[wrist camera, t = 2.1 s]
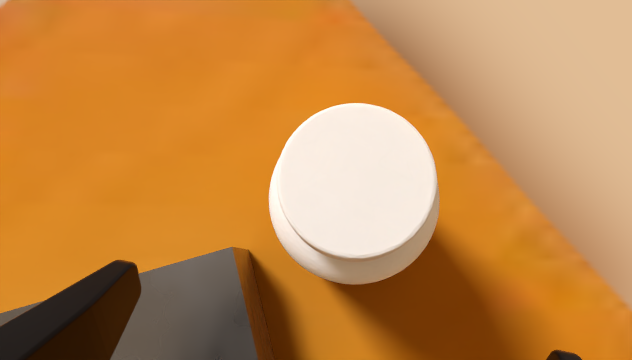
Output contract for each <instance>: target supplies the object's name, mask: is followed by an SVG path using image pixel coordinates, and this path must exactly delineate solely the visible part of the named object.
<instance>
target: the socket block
mask: <svg viewBox="0 0 632 360" xmlns="http://www.w3.org/2000/svg"><path fill="white" fill-rule="evenodd" d="M139 278H140V282H141V295H140V298H139V300H138V302H137V304H136V306H135V309H134V311H133V313H132V315H131V317H130V319H129V321H128V323H127V326H126V328H125V330H124V332H123V334H122V336H121V338H120V340H119V343H118V345H117V347H116V349H115V351H114V353H113V355H112V357H111V359H110V360H275V358H274V354H273V349H272V345H271V341H270V337H269V333H268V328H267V324H266V320H265V316H264V312H263V308H262V303H261V299H260V295H259V291H258V287H257V282H256V278H255V274H254V270H253V266H252V262H251V257H250V253H249V250H246V249H240V248H235V247H230V248H227V249H223V250H220V251H216V252H213V253H209V254H206V255H202V256H199V257H195V258H192V259H188V260H185V261H181V262H178V263H174V264H171V265H167V266H164V267H160V268H157V269H153V270H150V271H147V272H143V273H140V274H139ZM42 302H43V301H42ZM42 302H39V303H35V304H32V305H28V306H25V307H21V308H18V309H14V310H11V311H7V312H4V313H0V326H1V325H3V324H5V323H7V322H8V321H10V320H12V319H14V318H15V317H17V316H19V315H21V314H22V313H24V312H26V311H28V310H29V309H31V308H33V307H35V306H36V305H38V304H40V303H42Z"/></svg>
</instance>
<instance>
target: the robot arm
mask: <svg viewBox="0 0 632 360" xmlns="http://www.w3.org/2000/svg"><path fill="white" fill-rule="evenodd" d="M140 295H141V282H140V278H139V274H138V269H137V266H136V264H135V263H133V262H128V261H124V260H116V261H113V262H111V263H110V264H108V265H106V266H104V267H103V268H101V269H99V270H97V271H96V272H94V273H92V274H90V275H89V276H87V277H85V278H83V279H82V280H80V281H78V282H76V283H75V284H73V285H71V286H70V287H68V288H66V289H64V290H63V291H61V292H59V293H57V294H56V295H54V296H52V297H50V298H49V299H47V300H45V301H43V302H42V303H40V304H38V305H36V306H35V307H33V308H31V309H29V310H28V311H26V312H24V313H22V314H21V315H19V316H17V317H15V318H14V319H12V320H10V321H8V322H7V323H5V324H3V325H1V326H0V360H110V359H111V357H112V355H113V353H114V351H115V349H116V347H117V345H118V343H119V340H120V338H121V336H122V334H123V332H124V330H125V328H126V326H127V323H128V321H129V319H130V317H131V315H132V313H133V311H134V309H135V306H136V304H137V302H138V300H139V298H140ZM546 360H582V359H581V358H580V357H579V356H578V355H576V354H574V353H570V352H566V351H561V350H554V351H552V352H551V353H550V355H549V356H548V358H547V359H546Z"/></svg>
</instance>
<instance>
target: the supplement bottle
mask: <svg viewBox="0 0 632 360" xmlns="http://www.w3.org/2000/svg"><path fill="white" fill-rule="evenodd" d="M269 210H270V216H271V220H272V224H273V227H274V230H275V232H276V234H277V237H278V239H279V240H280V242H281V244H282V245H283V247H284V248H285V250H286V251H287V252H288V253H289V255H290V256H291V257H292V258H293V259H294V260H295V261H296V262H297V263H298V264H300V265H301V266H302V267H303V268H305V269H306V270H308V271H309V272H311V273H313V274H315V275H317V276H319V277H321V278H324V279H326V280H329V281H333V282H336V283H342V284H353V285H355V284H367V283H373V282H378V281H381V280H384V279H386V278H389V277H391V276H393V275H395V274H397V273H399V272H400V271H402V270H403V269H405V268H406V267H408V266H409V265H410V264H411V263H412V262H413V261H414V260H415V259H416V258H417V257H418V256H419V255H420V254H421V253H422V251H423V250H424V249H425V247H426V246H427V244H428V242H429V241H430V239H431V237H432V234H433V232H434V230H435V227H436V223H437V219H438V214H439V188H438V182H437V173H436V167H435V163H434V159H433V156H432V153H431V151H430V149H429V147H428V145H427V143H426V142H425V140H424V139H423V137H422V136H421V135H420V133H419V132H418V131H417V130H416V129H415V127H414V126H412V125H411V124H410V123H409V122H408V121H407V120H405V119H404V118H403V117H401V116H399V115H398V114H396V113H394V112H392V111H390V110H388V109H385V108H382V107H379V106H375V105H370V104H362V103H350V104H342V105H337V106H334V107H330V108H328V109H325V110H323V111H320V112H318V113H317V114H315V115H313V116H312V117H310V118H309V119H307V120H306V121H305V122H304V123H302V124H301V125H300V126H299V127H298V129H297V130H296V131H295V132H294V133H293V134H292V136H291V137H290V138H289V140H288V141H287V143H286V145H285V147H284V149H283V151H282V154H281V157H280V158H279V160H278V162H277V164H276V167H275V169H274V172H273V175H272V179H271V183H270V191H269Z"/></svg>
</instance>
